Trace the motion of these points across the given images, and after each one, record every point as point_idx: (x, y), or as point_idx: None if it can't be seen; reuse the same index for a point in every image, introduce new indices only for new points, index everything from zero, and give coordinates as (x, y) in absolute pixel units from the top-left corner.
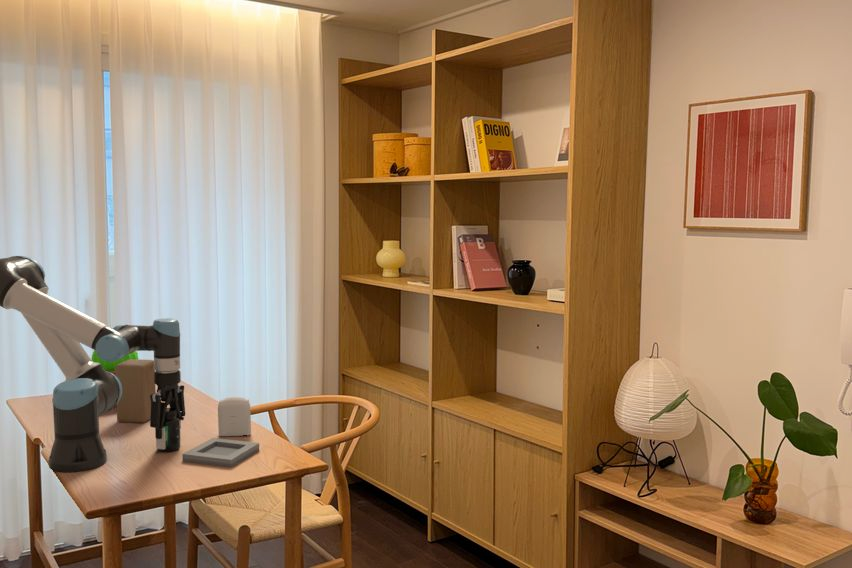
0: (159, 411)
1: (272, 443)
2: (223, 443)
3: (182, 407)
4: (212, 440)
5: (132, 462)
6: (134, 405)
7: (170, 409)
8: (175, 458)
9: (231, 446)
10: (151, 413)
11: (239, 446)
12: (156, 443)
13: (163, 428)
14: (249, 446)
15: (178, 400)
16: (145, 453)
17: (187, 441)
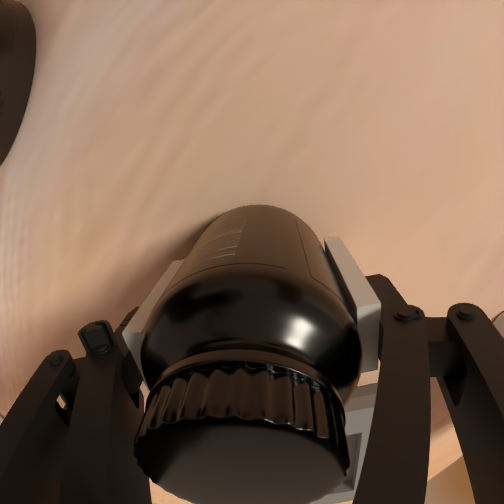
0: (55, 497)
1: (433, 464)
2: (358, 447)
3: (459, 435)
4: (369, 419)
5: (52, 252)
6: None
7: (259, 490)
8: None
9: (355, 457)
10: (4, 435)
11: (354, 473)
12: (164, 275)
13: (148, 389)
14: (342, 498)
15: (493, 479)
16: (146, 205)
17: (408, 255)
